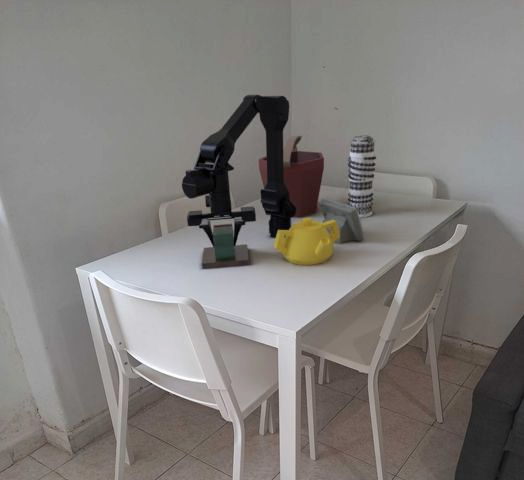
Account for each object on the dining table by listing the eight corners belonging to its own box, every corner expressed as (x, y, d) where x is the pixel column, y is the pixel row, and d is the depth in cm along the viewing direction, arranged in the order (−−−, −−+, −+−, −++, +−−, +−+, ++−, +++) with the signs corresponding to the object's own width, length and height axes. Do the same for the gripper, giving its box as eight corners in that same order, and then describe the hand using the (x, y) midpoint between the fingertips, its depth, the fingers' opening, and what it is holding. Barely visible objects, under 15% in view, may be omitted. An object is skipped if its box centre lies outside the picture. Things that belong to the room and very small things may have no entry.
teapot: (293, 278, 128) (292, 236, 122) (265, 256, 142) (262, 218, 136) (359, 262, 134) (361, 222, 128) (325, 243, 148) (326, 206, 143)
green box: (235, 258, 138) (232, 232, 134) (215, 259, 138) (212, 234, 134) (234, 247, 146) (232, 223, 142) (215, 248, 146) (213, 224, 142)
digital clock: (366, 242, 147) (368, 206, 142) (339, 247, 145) (340, 211, 139) (340, 227, 160) (341, 194, 155) (315, 232, 158) (315, 198, 152)
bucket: (281, 200, 193) (279, 131, 180) (335, 203, 184) (336, 131, 171) (253, 218, 175) (247, 142, 162) (311, 223, 166) (310, 143, 153)
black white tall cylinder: (373, 209, 175) (377, 133, 162) (373, 217, 167) (377, 138, 154) (347, 210, 176) (348, 134, 163) (346, 217, 169) (348, 139, 156)
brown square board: (247, 249, 148) (247, 244, 148) (249, 265, 137) (248, 259, 137) (204, 252, 148) (203, 247, 147) (202, 268, 137) (201, 263, 136)
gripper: (252, 181, 140) (255, 234, 148) (186, 186, 139) (193, 239, 147) (254, 190, 130) (257, 247, 138) (183, 195, 130) (191, 252, 138)
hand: (224, 246), depth 141 cm, fingers closed on green box, 5 cm apart
